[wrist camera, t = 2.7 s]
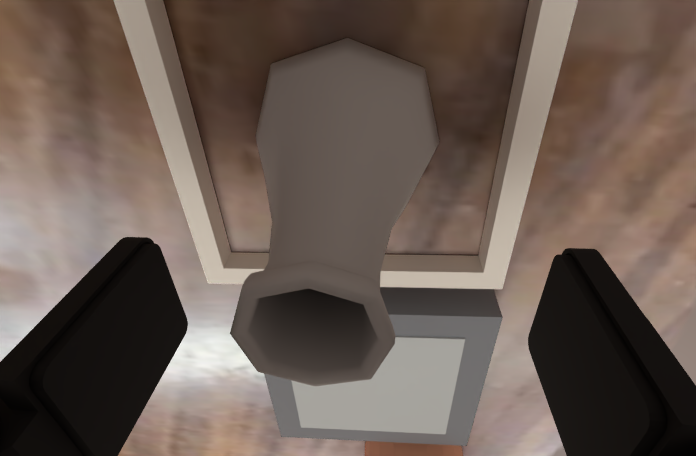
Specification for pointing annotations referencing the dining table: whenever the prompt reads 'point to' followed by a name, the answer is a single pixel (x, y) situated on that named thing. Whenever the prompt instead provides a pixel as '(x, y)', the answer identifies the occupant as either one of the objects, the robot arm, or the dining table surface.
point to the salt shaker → (410, 449)
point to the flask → (332, 209)
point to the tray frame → (397, 270)
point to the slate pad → (405, 375)
